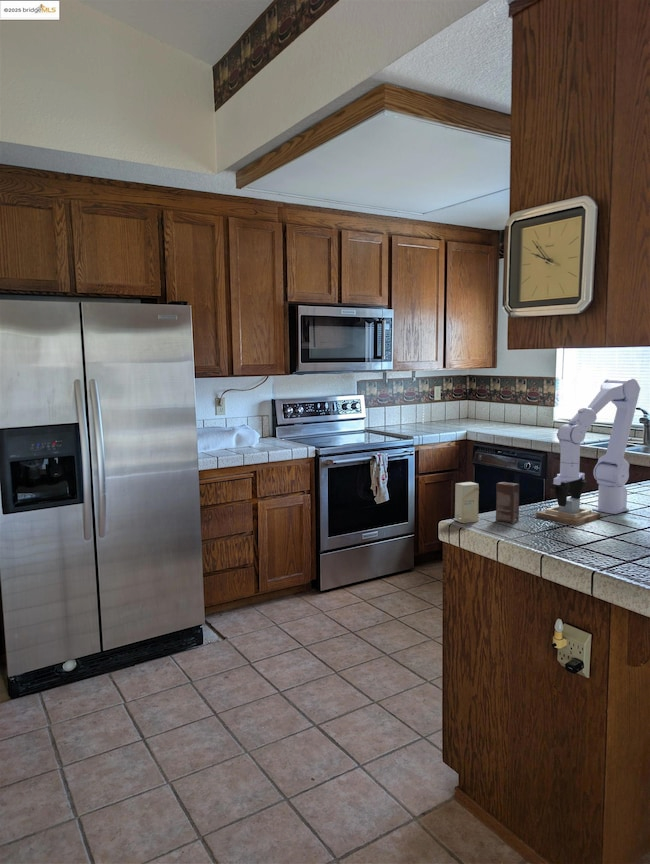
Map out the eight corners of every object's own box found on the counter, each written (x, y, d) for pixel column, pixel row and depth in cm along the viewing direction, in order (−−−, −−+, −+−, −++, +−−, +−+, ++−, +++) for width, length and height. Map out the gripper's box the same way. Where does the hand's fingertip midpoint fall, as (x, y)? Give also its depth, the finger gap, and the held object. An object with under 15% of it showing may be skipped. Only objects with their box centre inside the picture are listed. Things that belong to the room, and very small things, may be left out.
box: (519, 520, 193) (520, 483, 192) (512, 523, 190) (513, 485, 188) (501, 517, 197) (502, 481, 196) (494, 520, 194) (495, 483, 193)
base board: (560, 509, 206) (561, 502, 206) (600, 517, 195) (600, 510, 195) (536, 516, 198) (536, 509, 197) (576, 525, 187) (576, 517, 186)
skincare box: (462, 523, 191) (463, 485, 189) (454, 520, 195) (454, 483, 193) (479, 521, 193) (479, 483, 192) (470, 518, 197) (470, 481, 196)
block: (566, 510, 199) (566, 496, 198) (579, 513, 195) (579, 499, 195) (558, 512, 196) (559, 499, 196) (571, 515, 193) (572, 501, 192)
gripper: (571, 458, 202) (569, 498, 203) (545, 463, 193) (544, 505, 195) (591, 460, 196) (589, 502, 198) (565, 466, 187) (564, 509, 189)
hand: (568, 503), depth 196 cm, fingers open, 7 cm apart
